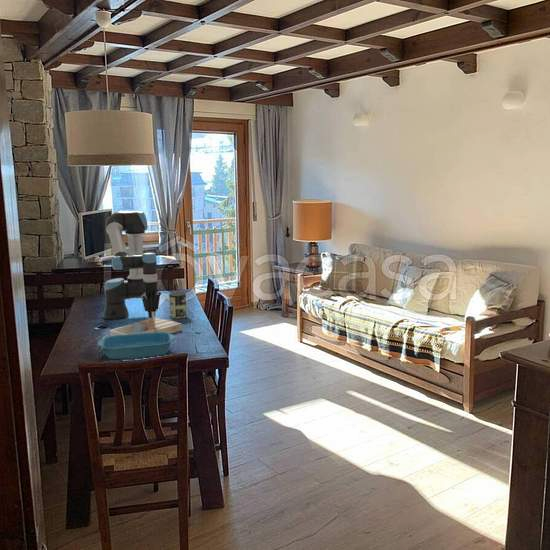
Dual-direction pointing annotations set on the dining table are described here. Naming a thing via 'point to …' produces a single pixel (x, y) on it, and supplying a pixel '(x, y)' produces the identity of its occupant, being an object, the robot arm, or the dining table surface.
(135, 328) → the tile front
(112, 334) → the tray
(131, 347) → the casserole dish
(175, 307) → the coffee can
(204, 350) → the dining table surface
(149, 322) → the tile rear
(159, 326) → the wavy grain square board
